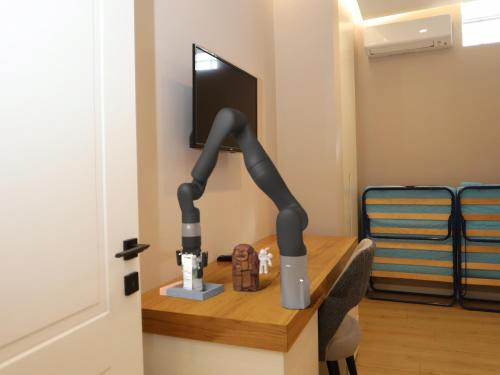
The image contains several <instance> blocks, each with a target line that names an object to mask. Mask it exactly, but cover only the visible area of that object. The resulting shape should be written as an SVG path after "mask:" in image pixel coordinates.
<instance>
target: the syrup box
mask: <svg viewBox="0 0 500 375" xmlns="http://www.w3.org/2000/svg"><path fill="white" fill-rule="evenodd" d="M195 258H196V255H190V254H183V255H182V267H181V278H182V279H181V280H182V288H183V289H187V290H194V291H202V292H203V291H204V290H203V282H204V279H203V278H204V276H203V277H202V278H201V279H198V278H197V269H198V268H197V266H196V264H195ZM200 259H201V260H202V257H201V255H200V257H199V256H198V258H196V260H197V261H199V260H200ZM199 265H200V263H199Z"/></svg>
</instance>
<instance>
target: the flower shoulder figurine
mask: <svg viewBox="0 0 500 375" xmlns="http://www.w3.org/2000/svg"><path fill="white" fill-rule="evenodd" d="M267 250H269V247H265V249H264V248H261V249H260V251H259V253H258V257H259V273H260V274H259V275H261V274H264V273H265V274H264V275H267V273H268V274H269V271H268V266H269V267H272V266H273V265H272V261H271V259H273V256H274V255H273V254H272V253H270V252H269V253H268V252H267Z"/></svg>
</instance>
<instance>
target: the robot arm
mask: <svg viewBox="0 0 500 375" xmlns="http://www.w3.org/2000/svg"><path fill="white" fill-rule="evenodd" d="M229 135H230V136H231V137H232V138H233V139H234V140H235V142H236V143H237V145H238V146H239V148H240V150H241V153H242V154H241V155H242V158H243V163H244V166H245V168H246V171H247V172H248V174H249V176H250V178H251V179H252V180H253V182H254V183H255V185H256V186H257V187H258V188H259V190H261V192H263V193H264V194H265V195H266V196H267V197H268V198H269V199H270V200H271V201H272V202H273V204H274V205H275V207H276V208H277V211H278V213H277V215H276V218H275V219H276V220H275V233H276V244H277V248H278V251H279V252H278V254H279V281H280V283H279V285H280V289H279V290H280V307H281V308H285V309H289V310H299V309H301V310H305V309H306V308H307V307H308V306H310V305H311V288H310V287H311V286H310V285H311V283H310V281H311V280H310V276H309V275H308V252H307V251H308V249H307V245H305V242H304V235H303V232H304V231H305V230H307V228H308V225H309V216H308V213H307V212H306V210H305V208H304V207H303V206H302V204H300V202H299V201H298V200H297V199H296V197H295V196H294V194H293V193H292V192H291V190H290V188H289V187H288V185H287V184H286V182H285V180H284V178H283V177H282V175H281V173H280V172H279V170H278V168H277V167H276V166H275V164H274V162H273V160H272V159H271V157H270V156H269V154H268V153H267V152H266V150H265V148H264V147H263V146H262V144H261V143H260V141H259V140H258V138H257V137H256V134H255V133H254V130H253V129H252V127H251V125H250V122H249V121H248V119H247V117H246V115H245V114H244V113H243V112H242V111H240V110H238V109H235V108H231V107H224V108H221V109H220V110H219V111H218V113H216V116H215V118H214V121H213V123H212V126H211V128H210V131H209V134H208V137H207V139H206V142H205V144H204V147H203V149H202V150H201V153H200V155H199V157H198V159H197V160H196V162H195V164H194V166H193V168H192V169H191V172H190V177H192V181H191V182H183V183H180V184H179V186H178V187H177V190H176V191H177V192H176V197H177V202H178V206H179V209H180V213H181V228H180V229H181V231H180V232H181V233H180V235H181V247H182V249H178V250H176V251H175V257H176V264H177V266H178V267H180V268H182V255H183V254H190V255H196V258H198V256H199V257H200V255H201V257H202V260H201V259H200V260H199V261H197V260H196V258H195V264H196V266H197V268H198V269H197V278H198V279H201V278H202V277H203V278H204V268H207V267H208V264H209V263H208V262H209V251H203V250H202V249H201V248H202V227H201V212H200V209H199V207H196V206H195V203H194V202H195V201H197V200H200V199H201V198H202V196H203V195H204V194H205V190H206V187H207V185H208V181H209V178H210V177H211V175H212V173H213V171H214V170H215V168H216V166H217V163H218V160H219V156H220V155H219V153H220V150H221V147H222V145H223V143H224V141H225V140H226V139H227V137H228V136H229ZM199 263H200V265H199Z"/></svg>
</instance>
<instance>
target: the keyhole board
mask: <svg viewBox="0 0 500 375" xmlns="http://www.w3.org/2000/svg"><path fill="white" fill-rule="evenodd" d="M222 292H224V284H222V283H214V282H213V283H212V282H204V281H203V290H202V291H194V290H187V289H183V288H182V279H181V280H178V281H176V282H173V283H170V284H167V285H165V286H162V287H160V288H159V295H160V296H168V297H173V298H180V299H187V300H193V301H194V300H195V301H201V302H202V301H203V302H204V301H205V300H208V299H210V298H212V297H214V296H216V295H218V294H221V293H222Z"/></svg>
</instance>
